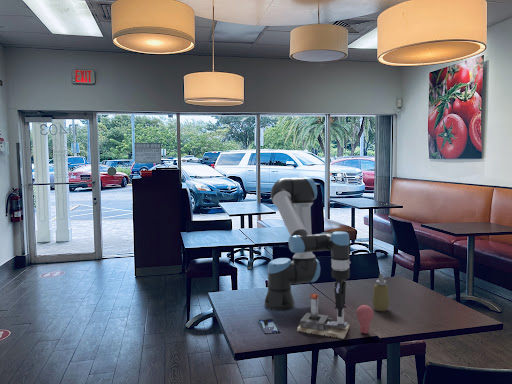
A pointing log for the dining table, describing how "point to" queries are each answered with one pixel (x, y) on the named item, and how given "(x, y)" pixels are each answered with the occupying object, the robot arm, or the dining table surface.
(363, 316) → the light bulb
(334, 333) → the block
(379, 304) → the squeeze bottle
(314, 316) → the pin
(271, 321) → the smartphone
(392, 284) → the dining table surface
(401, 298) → the dining table surface
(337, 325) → the tab
